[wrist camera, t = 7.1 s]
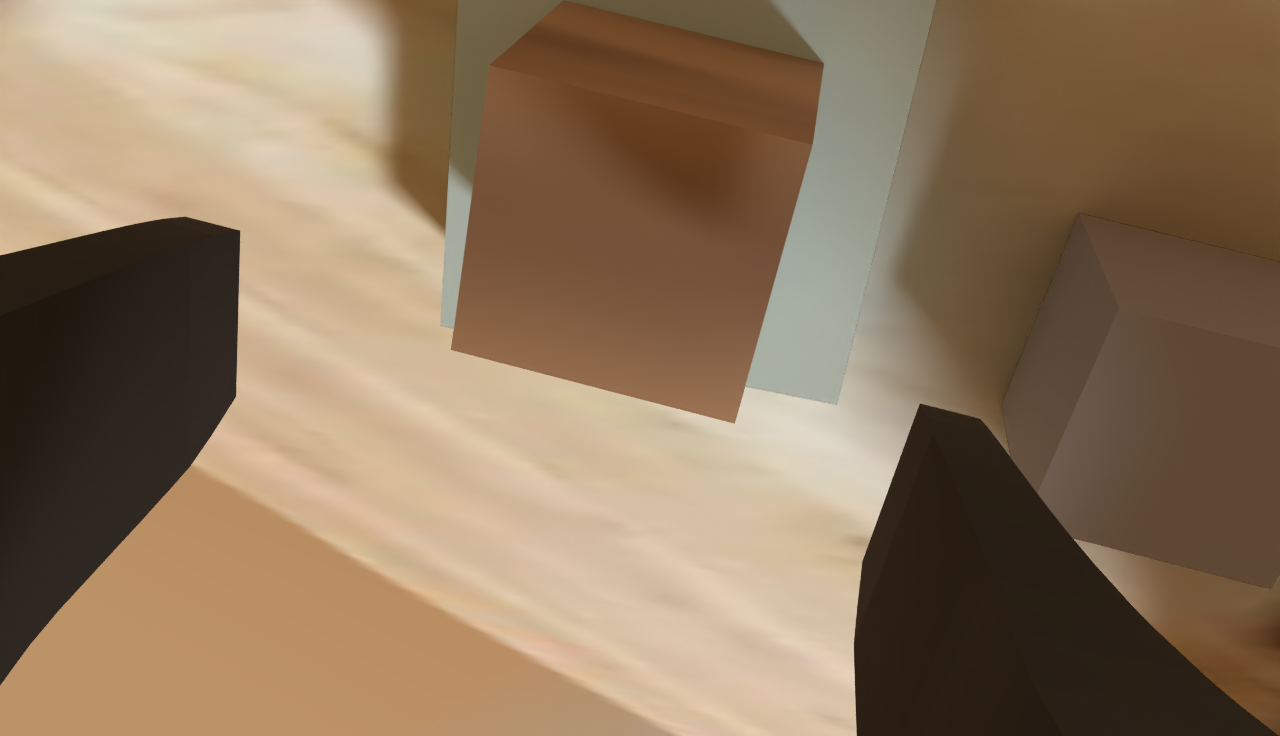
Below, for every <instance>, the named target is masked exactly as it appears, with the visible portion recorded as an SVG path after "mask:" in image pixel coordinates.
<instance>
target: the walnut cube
mask: <svg viewBox="0 0 1280 736" xmlns="http://www.w3.org/2000/svg"><path fill="white" fill-rule="evenodd" d="M823 68H824V63H820V62H816V61H812V60H808V59H804V58H800V57H796V56H791V55H787V54H783V53H779V52H775V51H771V50H767V49H763V48H758V47H754V46H750V45H746V44H742V43H738V42H734V41H730V40H725V39H721V38H717V37H713V36H709V35H705V34H701V33H697V32H692V31H688V30H684V29H680V28H676V27H672V26H668V25H664V24H659V23H655V22H651V21H647V20H643V19H639V18H635V17H631V16H626V15H622V14H618V13H614V12H610V11H606V10H602V9H598V8H594V7H589V6H585V5H581V4H577V3H573V2H569V1H565V0H563V1H562V2H561V3H560V4H559V5H557V6H556V7H555V8H554V9H553V10H552V11H551V12H549V13H548V14H547V15H546V16H545V17H544V18H543V19H541V20H540V21H539V22H538V23H537V24H536V25H535V26H534V27H532V28H531V29H530V30H529V31H528V32H527V33H526V34H524V35H523V36H522V37H521V38H520V39H519V40H518V41H516V42H515V43H514V44H513V45H512V46H511V47H510V48H508V49H507V50H506V51H505V52H504V53H503V54H502V55H500V56H499V57H498V58H497V59H496V60H495V61H494V62H492V63H491V64H490V65H489V72H488V79H487V87H486V94H485V101H484V109H483V116H482V124H481V131H480V139H479V146H478V153H477V161H476V168H475V176H474V183H473V190H472V198H471V205H470V213H469V220H468V228H467V235H466V242H465V250H464V257H463V265H462V272H461V280H460V287H459V294H458V302H457V309H456V317H455V324H454V332H453V339H452V346H451V350H454V351H458V352H462V353H465V354H469V355H473V356H477V357H481V358H485V359H489V360H492V361H496V362H500V363H504V364H508V365H512V366H515V367H519V368H523V369H527V370H531V371H535V372H539V373H542V374H546V375H550V376H554V377H558V378H562V379H565V380H569V381H573V382H577V383H581V384H585V385H589V386H592V387H596V388H600V389H604V390H608V391H612V392H615V393H619V394H623V395H627V396H631V397H635V398H639V399H642V400H646V401H650V402H654V403H658V404H662V405H665V406H669V407H673V408H677V409H681V410H685V411H689V412H692V413H696V414H700V415H704V416H708V417H712V418H715V419H719V420H723V421H727V422H731V423H735V421H736V417H737V413H738V410H739V406H740V403H741V399H742V396H743V392H744V388H745V385H746V381H747V378H748V374H749V371H750V367H751V363H752V360H753V356H754V353H755V349H756V346H757V342H758V338H759V335H760V331H761V328H762V324H763V321H764V317H765V313H766V310H767V306H768V303H769V299H770V296H771V292H772V288H773V285H774V281H775V278H776V274H777V271H778V267H779V263H780V260H781V256H782V253H783V249H784V246H785V242H786V238H787V235H788V231H789V228H790V224H791V221H792V217H793V213H794V210H795V206H796V203H797V199H798V196H799V192H800V188H801V185H802V181H803V178H804V174H805V171H806V167H807V163H808V160H809V156H810V153H811V149H812V146H813V139H814V132H815V125H816V118H817V111H818V103H819V96H820V89H821V82H822V75H823Z"/></svg>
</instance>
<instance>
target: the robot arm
mask: <svg viewBox="0 0 1280 736" xmlns="http://www.w3.org/2000/svg"><path fill="white" fill-rule="evenodd" d="M239 256H240V231H239V230H235V229H231V228H227V227H223V226H219V225H215V224H211V223H208V222H204V221H200V220H196V219H192V218H188V217H178V218H167V219H160V220H154V221H149V222H143V223H138V224H134V225H129V226H124V227H120V228H115V229H111V230H106V231H102V232H98V233H93V234H89V235H85V236H81V237H77V238H72V239H68V240H64V241H60V242H56V243H51V244H47V245H43V246H39V247H34V248H30V249H26V250H22V251H18V252H13V253H9V254H5V255H0V685H1V683H2V682H3V681H4V679H5V678H6V677H7V675H8V674H9V672H10V671H11V669H12V668H13V667H14V666H15V664H16V663H17V661H18V660H19V659H20V657H21V656H22V655H23V653H24V652H25V651H26V649H27V648H28V647H29V645H30V644H31V643H32V641H33V640H34V639H35V638H36V637H37V636H38V634H39V633H40V632H41V631H42V630H43V628H44V627H45V626H46V625H47V624H48V622H49V621H50V620H51V619H52V618H53V617H54V615H55V614H56V613H57V612H58V611H59V609H60V608H61V607H62V606H63V605H64V604H65V603H66V602H67V601H68V600H69V599H70V598H71V596H72V595H73V594H74V593H75V592H76V591H77V590H78V589H79V588H80V587H81V586H82V585H83V583H84V582H85V581H86V580H87V579H88V578H89V577H90V576H91V575H92V574H93V573H94V572H95V570H96V569H97V568H98V567H99V566H100V565H101V564H102V563H103V562H104V561H105V559H106V558H107V557H108V556H109V555H110V554H111V553H112V552H113V551H114V550H115V549H116V548H117V546H118V545H119V544H120V543H121V542H122V541H123V540H124V539H125V538H126V537H127V536H128V535H129V534H130V532H131V531H132V530H133V529H134V528H135V527H136V526H137V525H138V524H139V523H140V522H141V521H142V519H143V518H144V517H145V516H146V515H147V514H148V513H149V511H151V509H152V508H153V507H154V506H155V505H156V504H157V503H158V502H159V501H160V499H161V498H162V497H163V496H164V495H165V494H166V493H167V492H168V491H169V490H170V488H171V487H172V486H173V485H174V484H175V483H176V482H177V481H178V479H179V478H180V477H181V476H182V475H183V474H184V473H185V471H186V470H187V469H188V468H189V467H190V466H191V464H192V463H193V461H194V460H195V458H196V457H197V456H198V454H199V453H200V451H201V450H202V448H203V447H204V445H205V444H206V442H207V441H208V440H209V438H210V437H211V435H212V434H213V432H214V430H215V429H216V427H217V426H218V424H219V423H220V421H221V419H222V418H223V416H224V415H225V413H226V412H227V410H228V408H229V407H230V405H231V404H232V402H233V401H234V399H235V397H236V374H237V335H238V295H239ZM854 665H855V696H856V724H857V736H1278V735H1277V734H1275V733H1274V732H1273V731H1271V730H1270V729H1269V728H1268V727H1266V726H1265V725H1264V724H1263V723H1261V722H1260V721H1259V720H1258V719H1256V718H1255V717H1254V716H1252V715H1251V714H1250V713H1249V712H1247V711H1246V710H1245V709H1244V708H1242V707H1241V706H1240V705H1239V704H1237V703H1236V702H1235V701H1234V700H1233V699H1231V698H1230V697H1229V696H1228V695H1227V694H1226V693H1224V692H1223V691H1222V690H1221V689H1220V688H1218V687H1217V686H1216V685H1215V684H1214V683H1213V682H1211V681H1210V680H1209V679H1208V678H1207V677H1206V676H1205V675H1203V674H1202V673H1201V672H1200V671H1199V670H1198V669H1197V668H1196V667H1195V666H1194V665H1193V664H1192V663H1191V662H1190V661H1188V660H1187V659H1186V658H1185V657H1184V656H1183V655H1182V654H1181V653H1180V652H1179V651H1178V650H1177V649H1176V648H1175V647H1173V646H1172V645H1171V644H1170V643H1169V642H1168V641H1167V640H1166V639H1165V638H1164V637H1163V636H1162V635H1161V634H1160V633H1158V632H1157V631H1156V630H1155V629H1154V628H1153V627H1152V626H1151V625H1150V624H1149V623H1148V622H1147V621H1146V620H1145V619H1144V618H1143V617H1142V616H1141V615H1140V614H1139V613H1138V611H1137V610H1136V609H1135V608H1134V607H1133V606H1132V605H1131V604H1130V603H1129V602H1128V601H1127V600H1126V599H1125V598H1124V596H1123V595H1122V594H1121V593H1120V592H1119V591H1118V590H1117V589H1116V588H1115V586H1114V585H1113V584H1112V583H1111V582H1110V581H1109V580H1108V579H1107V578H1106V577H1105V575H1104V574H1103V573H1102V572H1101V571H1100V570H1099V569H1098V568H1097V567H1096V565H1095V564H1094V563H1093V562H1092V561H1091V560H1090V558H1089V557H1088V556H1087V555H1086V554H1085V553H1084V551H1083V550H1082V549H1081V548H1080V547H1079V545H1078V544H1077V543H1076V542H1075V541H1074V539H1073V538H1072V537H1071V536H1070V534H1069V533H1068V532H1067V531H1066V530H1065V528H1064V527H1063V526H1062V525H1061V523H1060V522H1059V521H1058V519H1057V518H1056V517H1055V516H1054V514H1053V513H1052V512H1051V511H1050V509H1049V508H1048V507H1047V505H1046V504H1045V503H1044V501H1043V500H1042V499H1041V498H1040V496H1039V495H1038V494H1037V492H1036V491H1035V490H1034V488H1033V487H1032V486H1031V484H1030V483H1029V482H1028V480H1027V479H1026V478H1025V476H1024V475H1023V474H1022V472H1021V471H1020V470H1019V468H1018V467H1017V466H1016V464H1015V463H1014V462H1013V460H1012V459H1011V458H1010V456H1009V455H1008V454H1007V452H1006V451H1005V449H1004V448H1003V447H1002V445H1001V444H1000V443H999V441H998V440H997V439H996V438H995V436H994V435H993V434H992V432H991V431H990V430H989V429H988V427H987V426H986V425H985V424H984V423H983V422H982V421H981V420H980V419H978V418H975V417H971V416H967V415H963V414H959V413H955V412H951V411H947V410H943V409H939V408H935V407H931V406H927V405H923V404H920V405H919V408H918V410H917V413H916V416H915V419H914V421H913V424H912V427H911V430H910V432H909V435H908V438H907V441H906V443H905V446H904V449H903V452H902V454H901V457H900V460H899V463H898V465H897V468H896V471H895V474H894V476H893V479H892V482H891V485H890V487H889V490H888V493H887V496H886V498H885V501H884V504H883V507H882V509H881V512H880V515H879V518H878V520H877V523H876V526H875V529H874V531H873V534H872V537H871V540H870V542H869V545H868V548H867V551H866V553H865V556H864V559H863V562H862V571H861V580H860V589H859V598H858V606H857V617H856V627H855V638H854Z"/></svg>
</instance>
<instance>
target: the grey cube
mask: <svg viewBox="0 0 1280 736" xmlns="http://www.w3.org/2000/svg"><path fill="white" fill-rule="evenodd" d="M1001 409H1002V414H1003V419H1004V425H1005V430H1006V435H1007V441H1008V446H1009V451H1010V457H1011V459H1012V460H1013V462H1014V463H1015V464H1016V466H1017V467H1018V468H1019V470H1020V471H1021V472H1022V474H1023V475H1024V476H1025V478H1026V479H1027V480H1028V482H1029V483H1030V484H1031V486H1032V487H1033V488H1034V490H1035V491H1036V492H1037V494H1038V495H1039V496H1040V498H1041V499H1042V500H1043V501H1044V503H1045V504H1046V505H1047V507H1048V508H1049V509H1050V511H1051V512H1052V513H1053V514H1054V516H1055V517H1056V518H1057V519H1058V521H1059V522H1060V523H1061V525H1062V526H1063V527H1064V528H1065V530H1066V531H1067V532H1068V533H1069V534H1070V536H1071V537H1072V538H1074V539H1078V540H1082V541H1086V542H1090V543H1094V544H1098V545H1101V546H1105V547H1109V548H1113V549H1117V550H1121V551H1125V552H1129V553H1132V554H1136V555H1140V556H1144V557H1148V558H1152V559H1156V560H1159V561H1163V562H1167V563H1171V564H1175V565H1179V566H1183V567H1186V568H1190V569H1194V570H1198V571H1202V572H1206V573H1210V574H1213V575H1217V576H1221V577H1225V578H1229V579H1233V580H1237V581H1241V582H1244V583H1248V584H1252V585H1256V586H1260V587H1264V588H1268V589H1271V588H1272V586H1273V584H1274V583H1275V581H1276V579H1277V578H1278V576H1279V574H1280V262H1278V261H1274V260H1270V259H1266V258H1261V257H1257V256H1253V255H1249V254H1245V253H1241V252H1237V251H1233V250H1229V249H1224V248H1220V247H1216V246H1212V245H1208V244H1204V243H1200V242H1196V241H1192V240H1187V239H1183V238H1179V237H1175V236H1171V235H1167V234H1163V233H1159V232H1154V231H1150V230H1146V229H1142V228H1138V227H1134V226H1130V225H1126V224H1122V223H1117V222H1113V221H1109V220H1105V219H1101V218H1097V217H1093V216H1089V215H1084V214H1080V213H1079V214H1078V217H1077V219H1076V221H1075V224H1074V226H1073V229H1072V231H1071V234H1070V236H1069V239H1068V241H1067V244H1066V246H1065V249H1064V251H1063V254H1062V256H1061V258H1060V261H1059V263H1058V266H1057V268H1056V271H1055V273H1054V276H1053V278H1052V281H1051V283H1050V286H1049V288H1048V291H1047V293H1046V296H1045V298H1044V300H1043V303H1042V305H1041V308H1040V310H1039V313H1038V315H1037V318H1036V320H1035V323H1034V325H1033V328H1032V330H1031V333H1030V335H1029V337H1028V340H1027V342H1026V345H1025V347H1024V350H1023V352H1022V355H1021V357H1020V360H1019V362H1018V365H1017V367H1016V370H1015V372H1014V374H1013V377H1012V379H1011V382H1010V384H1009V387H1008V389H1007V392H1006V394H1005V397H1004V399H1003V402H1002V404H1001Z"/></svg>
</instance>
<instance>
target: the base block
mask: <svg viewBox="0 0 1280 736" xmlns="http://www.w3.org/2000/svg"><path fill="white" fill-rule="evenodd" d="M562 1H563V0H458V5H457V24H456V43H455V61H454V80H453V99H452V118H451V137H450V156H449V175H448V194H447V213H446V232H445V251H444V270H443V289H442V308H441V326H443V327H448V328H453V329H454V324H455V317H456V309H457V302H458V294H459V287H460V280H461V272H462V265H463V257H464V250H465V242H466V235H467V228H468V220H469V213H470V205H471V198H472V190H473V183H474V176H475V168H476V161H477V153H478V146H479V139H480V131H481V124H482V116H483V109H484V101H485V94H486V87H487V79H488V72H489V65H490V64H491V63H492V62H494V61H495V60H496V59H497V58H498V57H499V56H500V55H502V54H503V53H504V52H505V51H506V50H507V49H508V48H510V47H511V46H512V45H513V44H514V43H515V42H516V41H518V40H519V39H520V38H521V37H522V36H523V35H524V34H526V33H527V32H528V31H529V30H530V29H531V28H532V27H534V26H535V25H536V24H537V23H538V22H539V21H540V20H541V19H543V18H544V17H545V16H546V15H547V14H548V13H549V12H551V11H552V10H553V9H554V8H555V7H556V6H557V5H559V4H560V3H561V2H562ZM565 1H569V2H573V3H577V4H581V5H585V6H589V7H594V8H598V9H602V10H606V11H610V12H614V13H618V14H622V15H626V16H631V17H635V18H639V19H643V20H647V21H651V22H655V23H659V24H664V25H668V26H672V27H676V28H680V29H684V30H688V31H692V32H697V33H701V34H705V35H709V36H713V37H717V38H721V39H725V40H730V41H734V42H738V43H742V44H746V45H750V46H754V47H758V48H763V49H767V50H771V51H775V52H779V53H783V54H787V55H791V56H796V57H800V58H804V59H808V60H812V61H816V62H820V63H824V68H823V75H822V82H821V89H820V96H819V103H818V111H817V118H816V125H815V132H814V139H813V146H812V149H811V153H810V156H809V160H808V163H807V167H806V171H805V174H804V178H803V181H802V185H801V188H800V192H799V196H798V199H797V203H796V206H795V210H794V213H793V217H792V221H791V224H790V228H789V231H788V235H787V238H786V242H785V246H784V249H783V253H782V256H781V260H780V263H779V267H778V271H777V274H776V278H775V281H774V285H773V288H772V292H771V296H770V299H769V303H768V306H767V310H766V313H765V317H764V321H763V324H762V328H761V331H760V335H759V338H758V342H757V346H756V349H755V353H754V356H753V360H752V363H751V367H750V371H749V374H748V378H747V381H746V385H745V387H749V388H755V389H760V390H765V391H770V392H775V393H780V394H785V395H790V396H795V397H800V398H805V399H810V400H815V401H820V402H825V403H830V404H835V405H837V403H838V399H839V395H840V391H841V386H842V382H843V378H844V374H845V370H846V366H847V362H848V358H849V354H850V350H851V346H852V342H853V338H854V334H855V330H856V326H857V321H858V317H859V313H860V309H861V305H862V301H863V297H864V293H865V289H866V285H867V281H868V277H869V273H870V269H871V265H872V260H873V256H874V252H875V248H876V244H877V240H878V236H879V232H880V228H881V224H882V220H883V216H884V212H885V208H886V204H887V199H888V195H889V191H890V187H891V183H892V179H893V175H894V171H895V167H896V163H897V159H898V155H899V151H900V147H901V143H902V138H903V134H904V130H905V126H906V122H907V118H908V114H909V110H910V106H911V102H912V98H913V94H914V90H915V86H916V82H917V77H918V73H919V69H920V65H921V61H922V57H923V53H924V49H925V45H926V41H927V37H928V33H929V29H930V25H931V21H932V17H933V12H934V8H935V4H936V0H565Z"/></svg>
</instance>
